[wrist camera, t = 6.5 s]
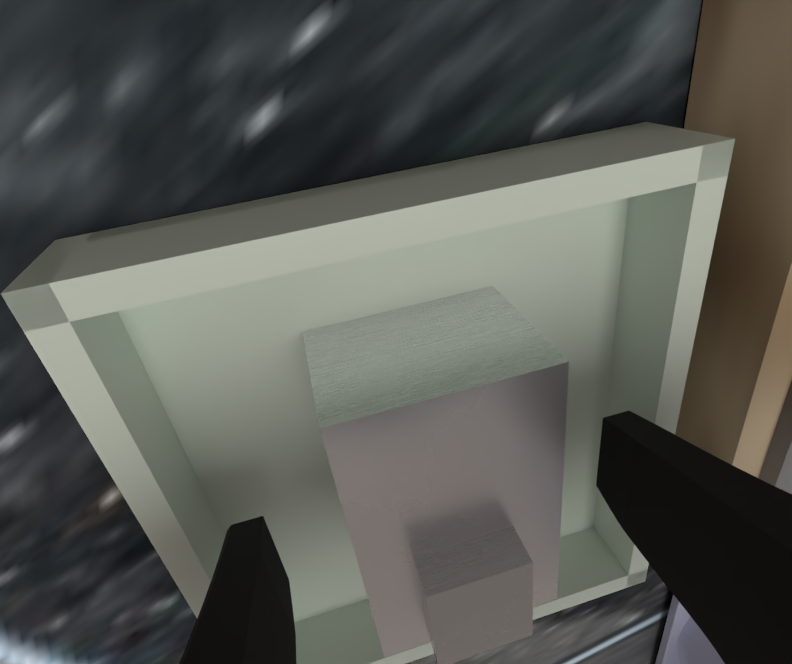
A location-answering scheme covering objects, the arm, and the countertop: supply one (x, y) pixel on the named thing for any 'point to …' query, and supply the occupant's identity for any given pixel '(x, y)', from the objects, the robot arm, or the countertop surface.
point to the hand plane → (746, 242)
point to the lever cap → (446, 466)
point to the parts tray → (362, 296)
